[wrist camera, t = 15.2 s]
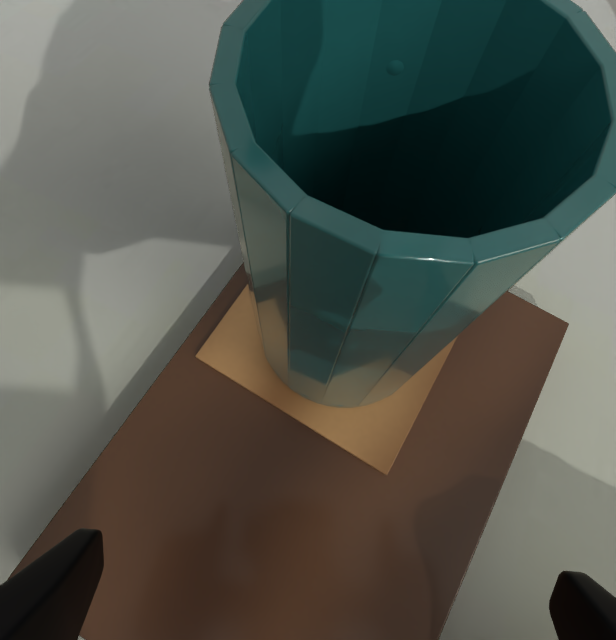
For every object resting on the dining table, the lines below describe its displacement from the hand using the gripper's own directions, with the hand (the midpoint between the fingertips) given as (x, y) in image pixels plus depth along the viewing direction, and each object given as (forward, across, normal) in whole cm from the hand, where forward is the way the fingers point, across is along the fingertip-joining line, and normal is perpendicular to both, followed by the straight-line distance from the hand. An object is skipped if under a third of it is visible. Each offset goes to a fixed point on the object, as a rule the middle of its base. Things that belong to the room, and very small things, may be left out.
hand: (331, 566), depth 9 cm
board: (+10, 0, +4) cm, 11 cm away
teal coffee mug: (+12, -1, -2) cm, 13 cm away
